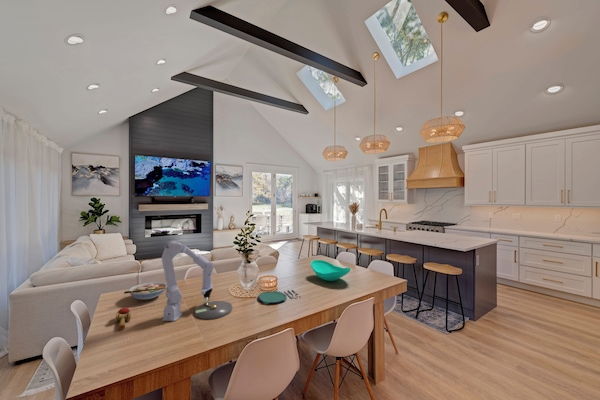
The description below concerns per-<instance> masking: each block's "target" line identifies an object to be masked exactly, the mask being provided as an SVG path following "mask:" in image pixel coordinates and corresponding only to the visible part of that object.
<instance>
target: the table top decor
mask: <svg viewBox="0 0 600 400" xmlns="http://www.w3.org/2000/svg"><path fill="white" fill-rule="evenodd" d="M310 266H311V269H312V271H313V272H314V274H316V276H317V277H318V278H320V279H322V280H324V281H327V282H335V281H337V280H339V279H342V277H345V276H347V274H349V273H350V272H351V269H352V268H351V267H340V266H337V265H334V264H333V263H331V262H328V261H325V260H321V259H315V260H312V261H310Z"/></svg>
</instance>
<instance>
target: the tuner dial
mask: <svg viewBox="0 0 600 400" xmlns="http://www.w3.org/2000/svg"><path fill="white" fill-rule="evenodd" d="M208 304H209V305H217V308H216V309H211V307H208V306H204V305H203V303H202V304H200V305H198V306H196V307H195V309H194V316H195V317H196V318H198V319H199V320H200V319H201V320H216V319H221V318H224V317H226V316H229V314H231V312H232V311H233V305H232V303H230V302H228V301H224V300H214V301H208Z"/></svg>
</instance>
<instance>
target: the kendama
mask: <svg viewBox="0 0 600 400" xmlns="http://www.w3.org/2000/svg"><path fill="white" fill-rule="evenodd" d="M131 316H132V311H130V309H129V308H128V307H122V308H120V309H119V310H118V311H117V312H116V314H115V320H114V322H115V323H117V322H119V324H118V327H117V329H118V331H124V330H125V329H126V321H127V322H130V320H131Z"/></svg>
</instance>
